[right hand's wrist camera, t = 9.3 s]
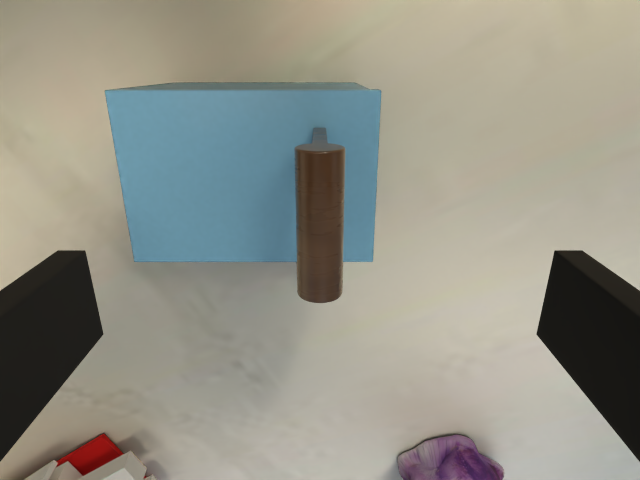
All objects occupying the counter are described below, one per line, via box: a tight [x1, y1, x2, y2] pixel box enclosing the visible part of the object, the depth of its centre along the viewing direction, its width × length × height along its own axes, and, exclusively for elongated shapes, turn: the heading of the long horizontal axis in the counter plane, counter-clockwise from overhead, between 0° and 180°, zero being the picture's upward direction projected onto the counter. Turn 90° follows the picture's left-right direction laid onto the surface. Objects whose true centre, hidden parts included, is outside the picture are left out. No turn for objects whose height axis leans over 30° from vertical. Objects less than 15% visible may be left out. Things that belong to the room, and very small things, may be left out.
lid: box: [105, 89, 381, 303], centre depth 21 cm, size 14×10×9 cm
